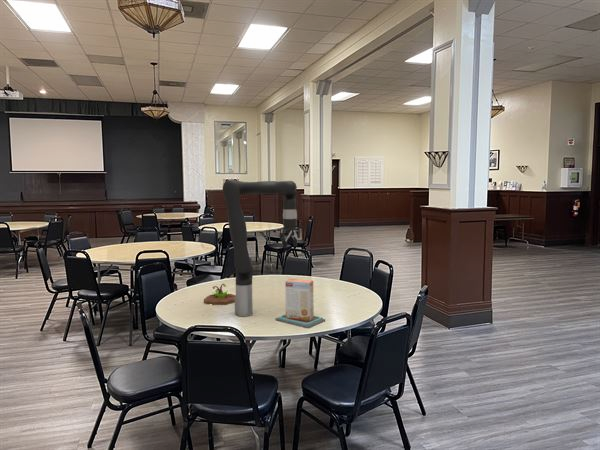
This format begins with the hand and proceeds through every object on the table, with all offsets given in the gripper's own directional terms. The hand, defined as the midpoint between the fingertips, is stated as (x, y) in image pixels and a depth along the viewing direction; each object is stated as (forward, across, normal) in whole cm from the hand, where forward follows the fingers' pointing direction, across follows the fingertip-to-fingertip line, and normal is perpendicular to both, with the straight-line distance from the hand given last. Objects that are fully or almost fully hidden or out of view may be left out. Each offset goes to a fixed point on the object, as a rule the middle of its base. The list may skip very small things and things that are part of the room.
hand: (290, 247), depth 237 cm
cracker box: (+37, -4, -10) cm, 39 cm away
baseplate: (+38, -4, -10) cm, 40 cm away
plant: (+39, -3, +54) cm, 67 cm away
